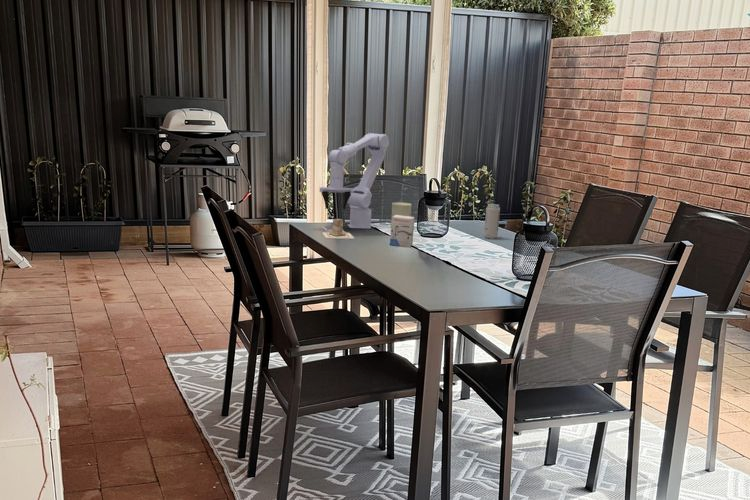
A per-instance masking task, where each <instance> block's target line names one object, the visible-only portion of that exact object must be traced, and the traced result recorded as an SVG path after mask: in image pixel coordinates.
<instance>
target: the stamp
mask: <svg viewBox="0 0 750 500" xmlns="http://www.w3.org/2000/svg"><path fill="white" fill-rule="evenodd" d="M343 224H344V220H343V219H340V218H334V219H332V227H333V230H332V231H329V235H333V236H336V237H337V236H346V233H347V231H343V230H344V229H343V228H344V225H343Z"/></svg>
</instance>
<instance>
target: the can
mask: <svg viewBox="0 0 750 500" xmlns="http://www.w3.org/2000/svg"><path fill="white" fill-rule="evenodd" d="M412 206H413V205H412V203H409V202H403V201H402V202H401V201H398V202H397V201H395V202H392V203H391V218H390V229H391V225H392V217H393V216H394V215H402V216H410V217H412Z"/></svg>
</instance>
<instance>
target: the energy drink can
mask: <svg viewBox="0 0 750 500" xmlns="http://www.w3.org/2000/svg"><path fill="white" fill-rule="evenodd" d="M500 213H501V207H500V204H496V203H488V204H487V207H486V208H485V219H484V229H483V231H484V232H483V236H484V239H487V238H489V239H488V240H496V239H497V238H498V235H499V225H500V224H499V223H500V216H501V215H500ZM495 238H496V239H495Z"/></svg>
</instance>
